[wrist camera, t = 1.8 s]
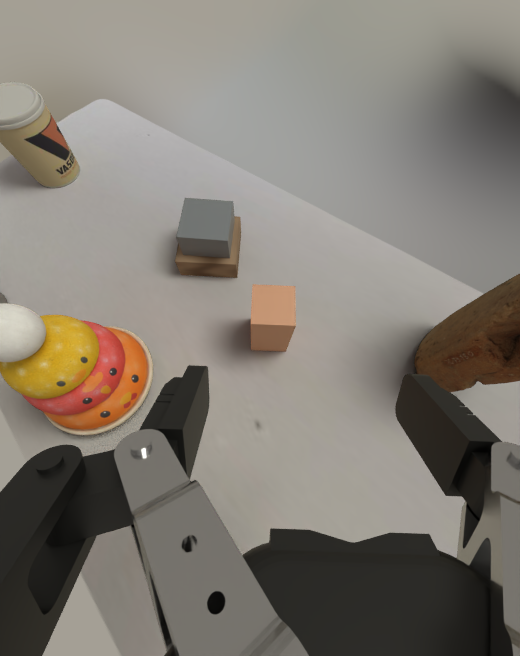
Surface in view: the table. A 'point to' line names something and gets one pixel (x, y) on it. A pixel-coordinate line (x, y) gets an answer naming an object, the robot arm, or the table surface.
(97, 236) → the table surface
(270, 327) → the pillar
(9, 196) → the table surface
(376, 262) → the table surface
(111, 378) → the stacking toy
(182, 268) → the tower base
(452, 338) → the block
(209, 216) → the tower top
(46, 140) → the coffee cup
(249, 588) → the robot arm
